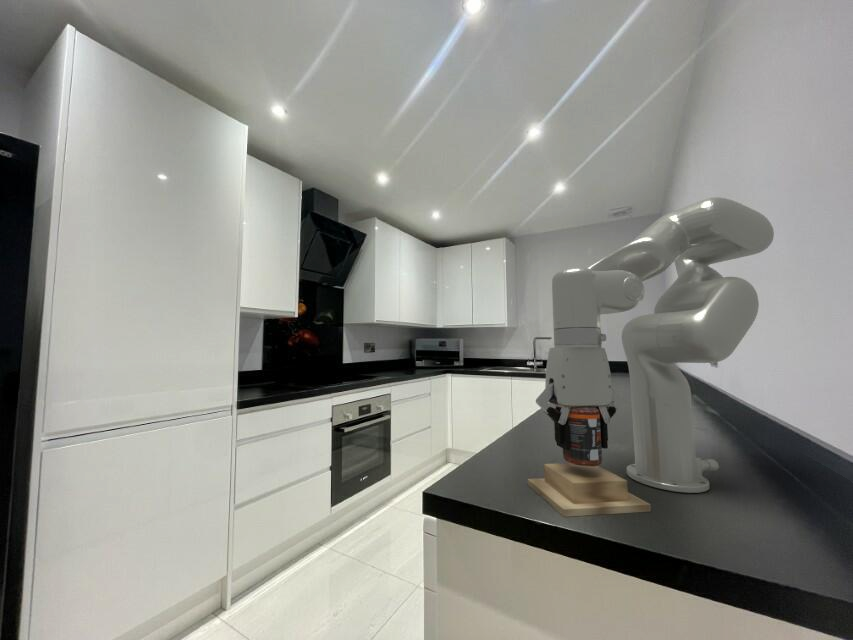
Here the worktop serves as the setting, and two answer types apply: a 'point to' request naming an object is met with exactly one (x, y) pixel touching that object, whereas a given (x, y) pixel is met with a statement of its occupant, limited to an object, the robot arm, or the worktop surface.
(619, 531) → the worktop surface
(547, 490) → the oak base
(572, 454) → the supplement bottle
